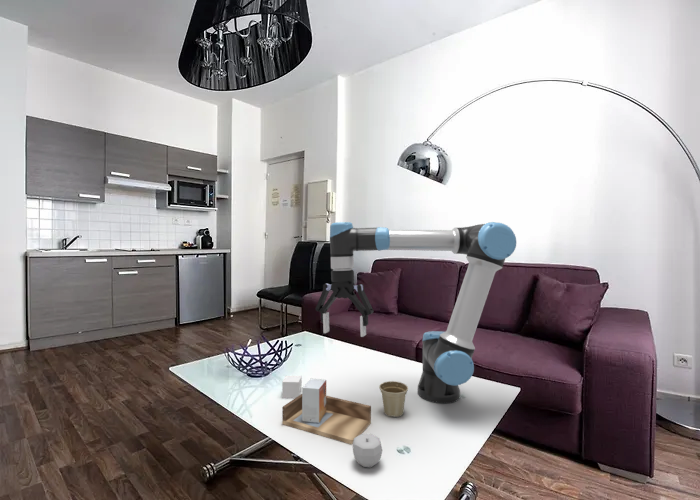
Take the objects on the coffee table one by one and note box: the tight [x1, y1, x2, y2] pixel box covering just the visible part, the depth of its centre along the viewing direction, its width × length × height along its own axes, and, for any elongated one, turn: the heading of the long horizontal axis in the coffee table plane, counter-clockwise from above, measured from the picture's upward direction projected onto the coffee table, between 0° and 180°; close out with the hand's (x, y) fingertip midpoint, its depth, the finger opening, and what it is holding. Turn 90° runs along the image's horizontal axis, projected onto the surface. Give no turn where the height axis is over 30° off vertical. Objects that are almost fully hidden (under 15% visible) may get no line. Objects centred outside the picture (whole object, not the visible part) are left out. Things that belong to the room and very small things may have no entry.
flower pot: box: [378, 380, 409, 418], centre depth 114 cm, size 9×9×9 cm
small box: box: [301, 377, 327, 423], centre depth 109 cm, size 8×6×10 cm
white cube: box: [281, 375, 303, 399], centre depth 128 cm, size 6×6×6 cm
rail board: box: [281, 393, 372, 446], centre depth 107 cm, size 24×13×5 cm, turn 63°
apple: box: [352, 433, 383, 468], centre depth 88 cm, size 8×8×7 cm
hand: (344, 334), depth 114 cm, fingers open, 13 cm apart
